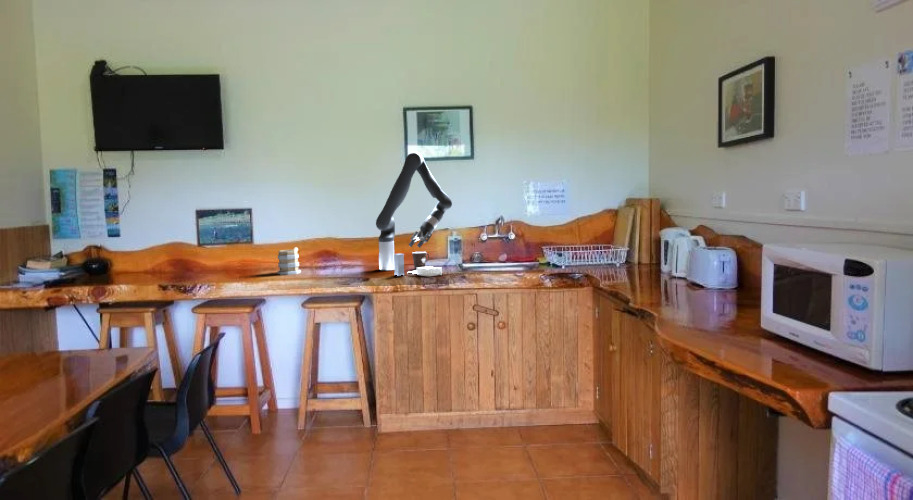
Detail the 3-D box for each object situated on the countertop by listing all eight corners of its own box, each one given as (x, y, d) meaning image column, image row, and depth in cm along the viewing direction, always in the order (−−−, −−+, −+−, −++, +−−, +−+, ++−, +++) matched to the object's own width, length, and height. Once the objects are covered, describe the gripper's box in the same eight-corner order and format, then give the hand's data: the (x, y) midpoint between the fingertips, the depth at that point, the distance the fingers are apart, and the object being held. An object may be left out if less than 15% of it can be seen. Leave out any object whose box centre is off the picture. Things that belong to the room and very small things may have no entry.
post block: (407, 273, 334) (407, 266, 333) (421, 271, 340) (420, 265, 339) (428, 276, 318) (428, 269, 318) (442, 274, 324) (441, 267, 324)
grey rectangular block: (394, 275, 327) (393, 254, 326) (400, 274, 330) (399, 253, 329) (398, 276, 324) (397, 254, 323) (404, 275, 327) (403, 254, 326)
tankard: (293, 274, 344) (292, 249, 343) (274, 274, 347) (272, 249, 345) (309, 270, 364) (307, 246, 362) (290, 270, 366) (289, 246, 365)
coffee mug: (415, 270, 348) (414, 253, 347) (410, 268, 356) (410, 252, 355) (433, 268, 352) (433, 252, 351) (428, 267, 360) (428, 251, 359)
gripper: (418, 220, 342) (403, 241, 336) (433, 221, 331) (417, 242, 325) (426, 229, 346) (410, 250, 340) (440, 229, 335) (425, 251, 329)
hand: (414, 246), depth 332 cm, fingers open, 8 cm apart
